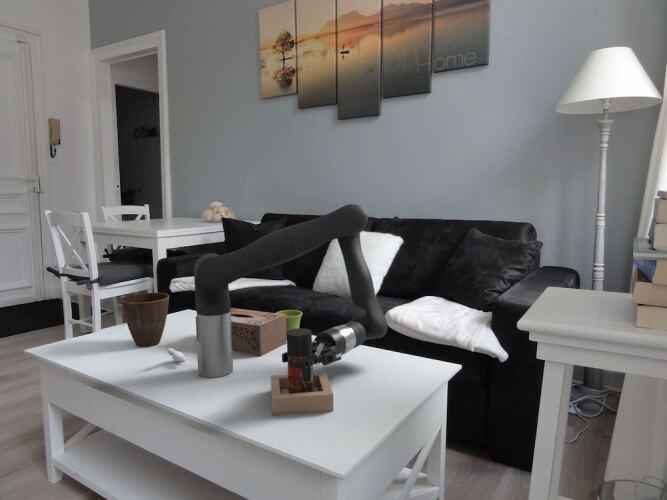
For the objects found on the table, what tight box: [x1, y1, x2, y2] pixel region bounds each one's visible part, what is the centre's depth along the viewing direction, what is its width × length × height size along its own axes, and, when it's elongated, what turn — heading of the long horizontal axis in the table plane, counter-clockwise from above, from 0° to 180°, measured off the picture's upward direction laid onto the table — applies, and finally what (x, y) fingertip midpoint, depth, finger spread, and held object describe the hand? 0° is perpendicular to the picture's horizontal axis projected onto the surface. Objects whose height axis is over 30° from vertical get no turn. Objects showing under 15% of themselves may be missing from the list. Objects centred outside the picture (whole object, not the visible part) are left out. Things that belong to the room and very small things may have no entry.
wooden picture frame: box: [270, 371, 334, 416], centre depth 118 cm, size 14×14×4 cm
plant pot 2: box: [275, 309, 303, 341], centre depth 168 cm, size 9×9×9 cm
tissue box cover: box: [195, 307, 287, 357], centre depth 162 cm, size 26×14×10 cm, turn 63°
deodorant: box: [286, 327, 314, 394], centre depth 117 cm, size 6×6×15 cm
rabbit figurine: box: [167, 347, 186, 366], centre depth 144 cm, size 6×4×8 cm
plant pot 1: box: [120, 292, 170, 348], centre depth 163 cm, size 15×15×16 cm
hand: (293, 361), depth 115 cm, fingers closed on deodorant, 6 cm apart
